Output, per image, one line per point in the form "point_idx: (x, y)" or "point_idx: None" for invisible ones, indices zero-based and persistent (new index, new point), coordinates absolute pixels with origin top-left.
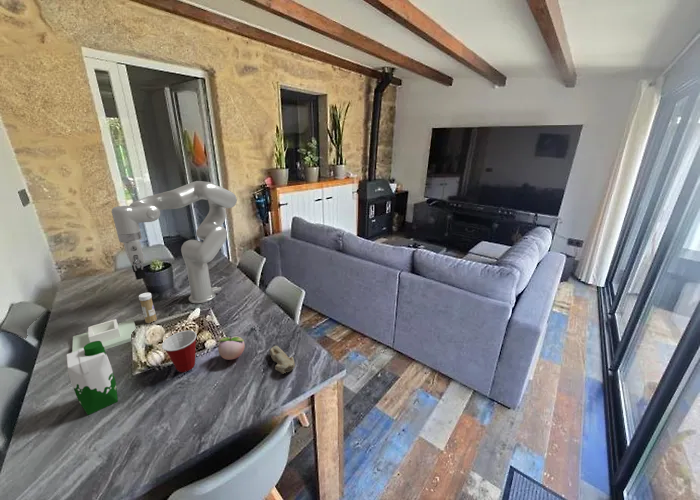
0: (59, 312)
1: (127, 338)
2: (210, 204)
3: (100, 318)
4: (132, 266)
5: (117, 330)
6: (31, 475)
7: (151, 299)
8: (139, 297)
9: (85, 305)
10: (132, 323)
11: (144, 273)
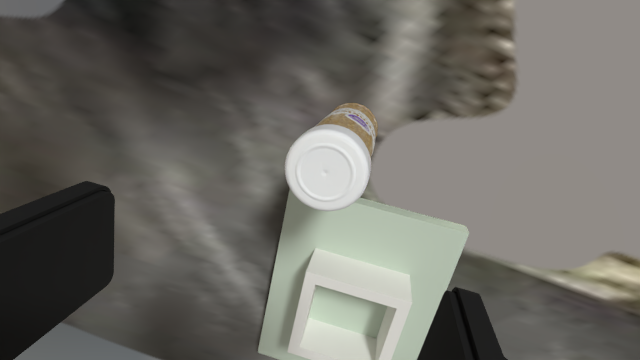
0: None
1: (450, 265)
2: None
3: (161, 244)
4: (26, 346)
5: (410, 299)
6: None
7: (355, 132)
8: (334, 210)
9: None
10: None
11: (500, 352)
